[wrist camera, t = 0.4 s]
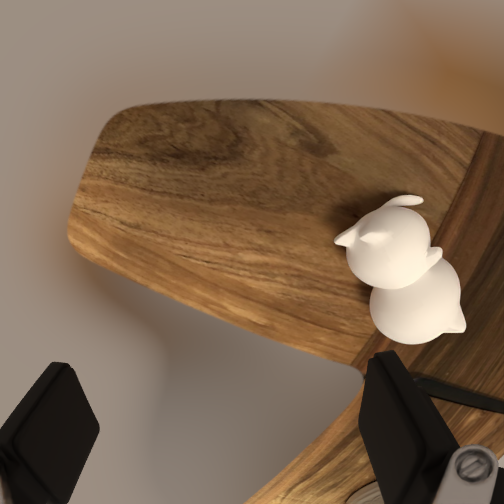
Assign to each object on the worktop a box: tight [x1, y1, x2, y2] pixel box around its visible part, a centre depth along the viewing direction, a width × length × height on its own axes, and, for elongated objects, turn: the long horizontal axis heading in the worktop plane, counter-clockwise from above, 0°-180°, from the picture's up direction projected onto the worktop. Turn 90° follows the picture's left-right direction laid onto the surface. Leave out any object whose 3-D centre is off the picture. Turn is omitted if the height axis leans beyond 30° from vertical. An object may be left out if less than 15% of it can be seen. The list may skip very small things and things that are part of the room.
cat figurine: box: [334, 195, 466, 344], centre depth 23 cm, size 9×11×12 cm
